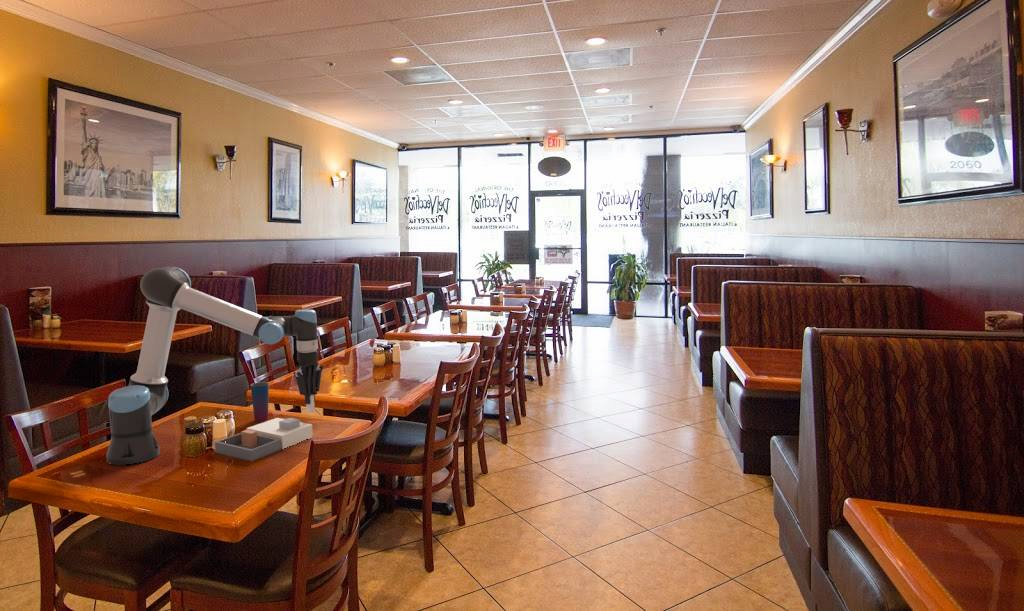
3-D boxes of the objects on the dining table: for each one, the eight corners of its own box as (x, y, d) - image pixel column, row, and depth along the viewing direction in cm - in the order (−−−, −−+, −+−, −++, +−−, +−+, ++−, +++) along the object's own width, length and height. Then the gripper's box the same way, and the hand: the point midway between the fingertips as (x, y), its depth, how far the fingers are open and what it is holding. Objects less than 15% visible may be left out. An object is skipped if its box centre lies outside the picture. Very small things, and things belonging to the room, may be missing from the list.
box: (215, 453, 202) (214, 442, 202) (244, 442, 213) (244, 431, 212) (251, 462, 194) (251, 450, 194) (280, 450, 205) (280, 439, 204)
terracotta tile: (247, 442, 211) (241, 445, 209) (247, 429, 210) (241, 431, 208) (257, 445, 209) (251, 447, 206) (256, 431, 208) (250, 433, 206)
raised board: (247, 441, 214) (246, 428, 213) (277, 430, 226) (277, 417, 226) (282, 449, 206) (282, 435, 205) (312, 437, 218) (312, 424, 218)
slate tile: (279, 428, 213) (279, 421, 213) (290, 424, 218) (289, 417, 218) (289, 430, 211) (289, 423, 211) (299, 426, 216) (299, 419, 215)
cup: (252, 418, 240) (250, 383, 238) (270, 416, 243) (268, 381, 241) (252, 423, 234) (250, 386, 232) (270, 421, 237) (269, 385, 235)
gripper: (301, 354, 213) (304, 417, 216) (327, 348, 224) (330, 408, 227) (286, 353, 216) (290, 415, 219) (313, 346, 228) (316, 405, 231)
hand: (310, 411), depth 223 cm, fingers closed
